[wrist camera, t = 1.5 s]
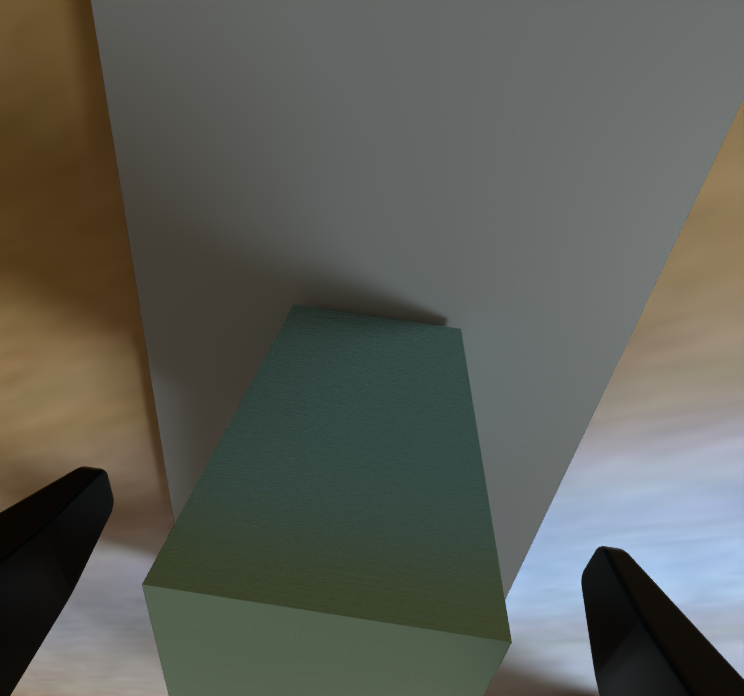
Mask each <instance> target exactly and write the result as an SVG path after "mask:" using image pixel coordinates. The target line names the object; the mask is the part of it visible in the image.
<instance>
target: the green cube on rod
mask: <svg viewBox="0 0 744 696" xmlns="http://www.w3.org/2000/svg"><path fill="white" fill-rule="evenodd" d="M142 586H143V590H144V594H145V599H146V603H147V607H148V611H149V615H150V620H151V624H152V628H153V632H154V636H155V640H156V645H157V649H158V653H159V657H160V661H161V665H162V670H163V674H164V678H165V682H166V686H167V690H168V695H169V696H483V695H484V693H485V691H486V690H487V688H488V686H489V684H490V682H491V680H492V678H493V677H494V675H495V673H496V671H497V669H498V667H499V665H500V663H501V662H502V660H503V658H504V656H505V654H506V652H507V650H508V648H509V647H510V645H511V643H512V641H511V635H510V629H509V623H508V616H507V610H506V604H505V598H504V592H503V585H502V579H501V573H500V567H499V561H498V554H497V548H496V542H495V536H494V530H493V524H492V517H491V511H490V505H489V499H488V493H487V486H486V480H485V474H484V468H483V462H482V456H481V449H480V443H479V437H478V431H477V425H476V418H475V412H474V406H473V400H472V394H471V388H470V381H469V375H468V369H467V363H466V357H465V350H464V344H463V338H462V332H461V329H458V328H452V327H445V326H438V325H431V324H425V323H418V322H411V321H404V320H398V319H391V318H384V317H377V316H370V315H364V314H357V313H350V312H343V311H337V310H330V309H323V308H316V307H310V306H303V305H296V304H293V306H292V308H291V310H290V312H289V314H288V316H287V317H286V319H285V321H284V323H283V325H282V327H281V328H280V330H279V332H278V334H277V336H276V338H275V340H274V341H273V343H272V345H271V347H270V349H269V351H268V353H267V354H266V356H265V358H264V360H263V362H262V364H261V365H260V367H259V369H258V371H257V373H256V375H255V377H254V378H253V380H252V382H251V384H250V386H249V388H248V389H247V391H246V393H245V395H244V397H243V399H242V401H241V402H240V404H239V406H238V408H237V410H236V412H235V414H234V415H233V417H232V419H231V421H230V423H229V425H228V426H227V428H226V430H225V432H224V434H223V436H222V438H221V439H220V441H219V443H218V445H217V447H216V449H215V451H214V452H213V454H212V456H211V458H210V460H209V462H208V463H207V465H206V467H205V469H204V471H203V473H202V475H201V476H200V478H199V480H198V482H197V484H196V486H195V488H194V489H193V491H192V493H191V495H190V497H189V499H188V500H187V502H186V504H185V506H184V508H183V510H182V512H181V513H180V515H179V517H178V519H177V521H176V523H175V525H174V526H173V528H172V530H171V532H170V534H169V536H168V537H167V539H166V541H165V543H164V545H163V547H162V549H161V550H160V552H159V554H158V556H157V558H156V560H155V562H154V563H153V565H152V567H151V569H150V571H149V573H148V574H147V576H146V578H145V580H144V582H143V584H142Z"/></svg>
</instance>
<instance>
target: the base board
mask: <svg viewBox="0 0 744 696" xmlns="http://www.w3.org/2000/svg"><path fill="white" fill-rule="evenodd" d="M91 4H92V11H93V17H94V23H95V30H96V36H97V42H98V48H99V55H100V61H101V67H102V74H103V80H104V86H105V92H106V99H107V105H108V111H109V118H110V124H111V130H112V136H113V143H114V149H115V155H116V162H117V168H118V174H119V180H120V187H121V193H122V199H123V206H124V212H125V218H126V224H127V231H128V237H129V243H130V250H131V256H132V262H133V268H134V275H135V281H136V287H137V294H138V300H139V306H140V312H141V319H142V325H143V331H144V338H145V344H146V350H147V356H148V363H149V369H150V375H151V382H152V388H153V394H154V400H155V407H156V413H157V419H158V426H159V432H160V438H161V444H162V451H163V457H164V463H165V470H166V476H167V482H168V488H169V495H170V501H171V507H172V514H173V520H174V525H175V523H176V521H177V519H178V517H179V515H180V513H181V512H182V510H183V508H184V506H185V504H186V502H187V500H188V499H189V497H190V495H191V493H192V491H193V489H194V488H195V486H196V484H197V482H198V480H199V478H200V476H201V475H202V473H203V471H204V469H205V467H206V465H207V463H208V462H209V460H210V458H211V456H212V454H213V452H214V451H215V449H216V447H217V445H218V443H219V441H220V439H221V438H222V436H223V434H224V432H225V430H226V428H227V426H228V425H229V423H230V421H231V419H232V417H233V415H234V414H235V412H236V410H237V408H238V406H239V404H240V402H241V401H242V399H243V397H244V395H245V393H246V391H247V389H248V388H249V386H250V384H251V382H252V380H253V378H254V377H255V375H256V373H257V371H258V369H259V367H260V365H261V364H262V362H263V360H264V358H265V356H266V354H267V353H268V351H269V349H270V347H271V345H272V343H273V341H274V340H275V338H276V336H277V334H278V332H279V330H280V328H281V327H282V325H283V323H284V321H285V319H286V317H287V316H288V314H289V312H290V310H291V308H292V306H293V304H296V305H303V306H310V307H316V308H323V309H330V310H337V311H343V312H350V313H357V314H364V315H370V316H377V317H384V318H391V319H398V320H404V321H411V322H418V323H425V324H431V325H438V326H445V327H452V328H458V329H461V332H462V338H463V344H464V350H465V357H466V363H467V369H468V375H469V381H470V388H471V394H472V400H473V406H474V412H475V418H476V425H477V431H478V437H479V443H480V449H481V456H482V462H483V468H484V474H485V480H486V486H487V493H488V499H489V505H490V511H491V517H492V524H493V530H494V536H495V542H496V548H497V554H498V561H499V567H500V573H501V579H502V585H503V592H504V598H505V599H506V597H507V595H508V593H509V590H510V588H511V586H512V584H513V582H514V580H515V578H516V576H517V574H518V572H519V569H520V567H521V565H522V563H523V561H524V559H525V557H526V555H527V553H528V551H529V548H530V546H531V544H532V542H533V540H534V538H535V536H536V534H537V532H538V529H539V527H540V525H541V523H542V521H543V519H544V517H545V515H546V513H547V511H548V508H549V506H550V504H551V502H552V500H553V498H554V496H555V494H556V492H557V490H558V487H559V485H560V483H561V481H562V479H563V477H564V475H565V473H566V471H567V469H568V466H569V464H570V462H571V460H572V458H573V456H574V454H575V452H576V450H577V448H578V445H579V443H580V441H581V439H582V437H583V435H584V433H585V431H586V429H587V427H588V424H589V422H590V420H591V418H592V416H593V414H594V412H595V410H596V408H597V406H598V403H599V401H600V399H601V397H602V395H603V393H604V391H605V389H606V387H607V384H608V382H609V380H610V378H611V376H612V374H613V372H614V370H615V368H616V366H617V363H618V361H619V359H620V357H621V355H622V353H623V351H624V349H625V347H626V345H627V342H628V340H629V338H630V336H631V334H632V332H633V330H634V328H635V326H636V324H637V321H638V319H639V317H640V315H641V313H642V311H643V309H644V307H645V305H646V303H647V300H648V298H649V296H650V294H651V292H652V290H653V288H654V286H655V284H656V282H657V279H658V277H659V275H660V273H661V271H662V269H663V267H664V265H665V263H666V261H667V258H668V256H669V254H670V252H671V250H672V248H673V246H674V244H675V242H676V239H677V237H678V235H679V233H680V231H681V229H682V227H683V225H684V223H685V221H686V218H687V216H688V214H689V212H690V210H691V208H692V206H693V204H694V202H695V200H696V197H697V195H698V193H699V191H700V189H701V187H702V185H703V183H704V181H705V179H706V176H707V174H708V172H709V170H710V168H711V166H712V164H713V162H714V160H715V158H716V155H717V153H718V151H719V149H720V147H721V145H722V143H723V141H724V139H725V137H726V134H727V132H728V130H729V128H730V126H731V124H732V122H733V120H734V118H735V116H736V113H737V111H738V109H739V107H740V105H741V103H742V101H743V99H744V0H91Z"/></svg>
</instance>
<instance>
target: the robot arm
mask: <svg viewBox="0 0 744 696" xmlns="http://www.w3.org/2000/svg"><path fill="white" fill-rule="evenodd" d="M113 504H114V499H113V494H112V490H111V486H110V482H109V479H108V475H107V472H106V471H105V470H103V469H99V468H93V467H80V468H77V469H75V470H73V471H72V472H70V473H68V474H66V475H65V476H63V477H61V478H59V479H58V480H56V481H54V482H53V483H51V484H49V485H47V486H46V487H44V488H42V489H40V490H39V491H37V492H35V493H33V494H32V495H30V496H28V497H27V498H25V499H23V500H21V501H20V502H18V503H16V504H14V505H13V506H11V507H9V508H7V509H6V510H4V511H2V512H1V513H0V696H10V695H11V694H12V692H13V690H14V689H15V687H16V685H17V684H18V682H19V680H20V679H21V677H22V675H23V674H24V672H25V671H26V669H27V667H28V666H29V664H30V662H31V661H32V659H33V657H34V656H35V654H36V652H37V651H38V649H39V647H40V646H41V644H42V642H43V641H44V639H45V638H46V636H47V634H48V633H49V631H50V629H51V628H52V626H53V624H54V623H55V621H56V619H57V618H58V616H59V614H60V613H61V611H62V610H63V608H64V606H65V604H66V603H67V601H68V599H69V597H70V596H71V594H72V592H73V590H74V588H75V586H76V584H77V582H78V580H79V578H80V576H81V574H82V572H83V570H84V568H85V566H86V564H87V562H88V560H89V558H90V555H91V553H92V551H93V549H94V547H95V545H96V543H97V541H98V539H99V537H100V535H101V533H102V531H103V528H104V526H105V524H106V522H107V520H108V518H109V516H110V514H111V512H112V508H113ZM581 584H582V592H583V599H584V605H585V612H586V619H587V626H588V632H589V639H590V646H591V653H592V660H593V666H594V671H595V677H596V682H597V686H598V690H599V695H600V696H744V679H743V678H742V677H741V676H740V675H739V673H738V672H737V671H736V670H735V669H734V668H733V667H732V666H731V665H730V664H729V663H728V661H727V660H726V659H725V658H724V657H723V656H722V655H721V654H720V653H719V652H718V651H717V650H716V648H715V647H714V646H713V645H712V644H711V643H710V642H709V641H708V640H707V639H706V638H705V637H704V635H703V634H702V633H701V632H700V631H699V630H698V629H697V628H696V627H695V626H694V625H693V623H692V622H691V621H690V620H689V619H688V618H687V617H686V616H685V615H684V614H683V613H682V612H681V610H680V609H679V608H678V607H677V606H676V605H675V604H674V603H673V602H672V601H671V600H670V598H669V597H668V596H667V595H666V594H665V593H664V592H663V591H662V590H661V589H660V588H659V587H658V585H657V584H656V583H655V582H654V581H653V580H652V579H651V578H650V577H649V576H648V575H647V573H646V572H645V571H644V570H643V569H642V568H641V567H640V566H639V565H638V564H637V563H636V562H635V560H634V559H633V558H632V557H631V556H630V555H629V554H628V553H627V552H625V551H624V550H622V549H619V548H613V547H606V546H601V547H599V548H597V549H596V551H595V553H594V554H593V556H592V558H591V559H590V561H589V563H588V564H587V566H586V568H585V569H584V571H583V574H582V580H581Z"/></svg>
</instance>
